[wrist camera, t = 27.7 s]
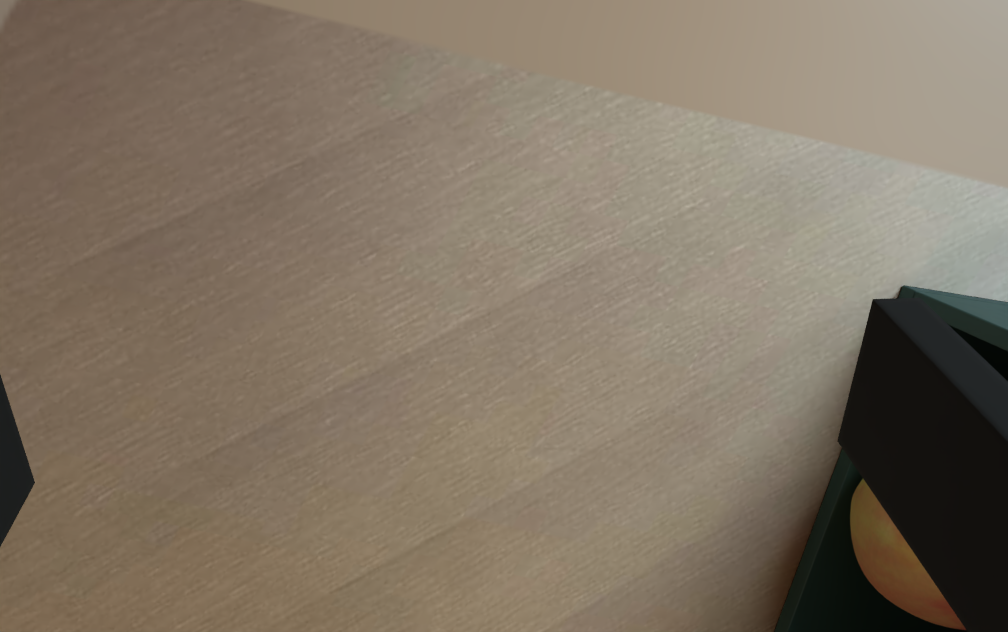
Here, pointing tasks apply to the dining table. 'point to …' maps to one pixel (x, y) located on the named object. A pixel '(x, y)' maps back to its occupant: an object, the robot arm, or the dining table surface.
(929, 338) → the robot arm
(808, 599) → the cupboard
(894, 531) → the apple
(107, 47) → the dining table surface
